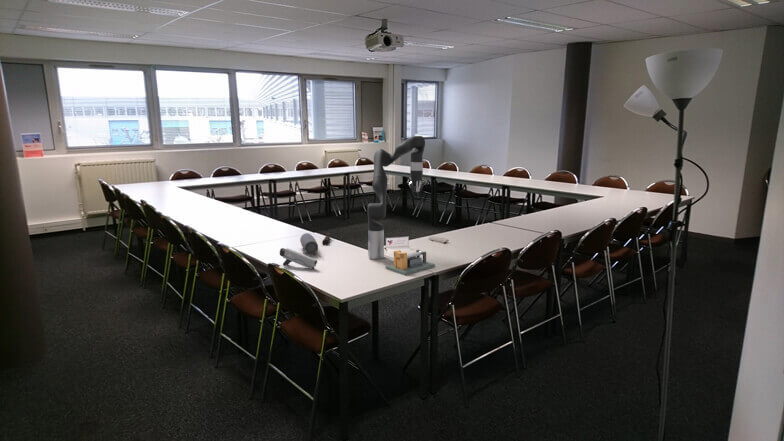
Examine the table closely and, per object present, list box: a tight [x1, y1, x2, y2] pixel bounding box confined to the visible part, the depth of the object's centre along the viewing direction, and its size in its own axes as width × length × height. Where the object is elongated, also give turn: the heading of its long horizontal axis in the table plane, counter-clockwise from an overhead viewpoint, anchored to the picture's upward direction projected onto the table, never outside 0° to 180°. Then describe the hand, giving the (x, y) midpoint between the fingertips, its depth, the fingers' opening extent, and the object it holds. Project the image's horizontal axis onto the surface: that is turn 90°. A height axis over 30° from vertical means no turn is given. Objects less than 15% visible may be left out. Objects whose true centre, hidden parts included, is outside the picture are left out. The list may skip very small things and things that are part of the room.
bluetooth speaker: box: [299, 233, 319, 255], centre depth 294 cm, size 23×9×10 cm, turn 18°
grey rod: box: [399, 250, 424, 259], centre depth 259 cm, size 2×3×17 cm
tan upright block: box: [393, 249, 408, 270], centre depth 254 cm, size 4×7×9 cm, turn 41°
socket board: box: [385, 249, 436, 276], centre depth 259 cm, size 23×16×8 cm
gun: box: [279, 247, 318, 270], centre depth 263 cm, size 2×25×10 cm, turn 65°
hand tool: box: [321, 232, 331, 246], centre depth 319 cm, size 19×4×5 cm, turn 178°
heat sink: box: [407, 256, 423, 268], centre depth 260 cm, size 9×9×4 cm
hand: (416, 197), depth 282 cm, fingers closed
